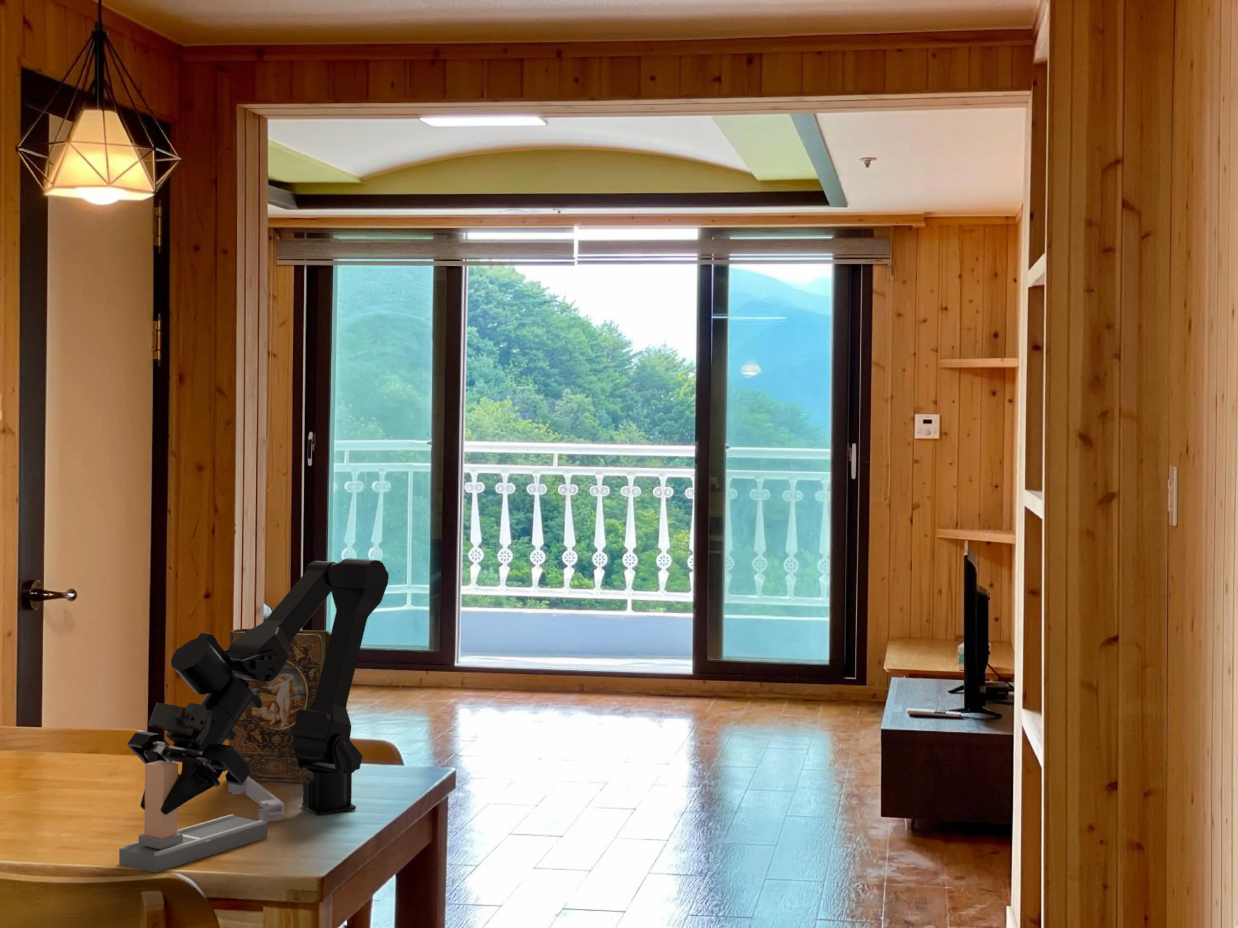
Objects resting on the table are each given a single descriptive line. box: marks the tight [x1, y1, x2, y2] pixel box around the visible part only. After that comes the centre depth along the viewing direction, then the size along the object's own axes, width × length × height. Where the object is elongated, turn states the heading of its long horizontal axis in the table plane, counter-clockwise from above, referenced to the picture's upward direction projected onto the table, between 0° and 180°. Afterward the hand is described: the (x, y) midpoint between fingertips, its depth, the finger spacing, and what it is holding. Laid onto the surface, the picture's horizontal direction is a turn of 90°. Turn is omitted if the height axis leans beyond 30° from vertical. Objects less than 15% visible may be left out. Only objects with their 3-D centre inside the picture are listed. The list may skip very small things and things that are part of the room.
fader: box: [138, 760, 183, 849], centre depth 180 cm, size 4×4×11 cm
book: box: [228, 628, 331, 786], centre depth 227 cm, size 16×6×25 cm, turn 84°
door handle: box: [227, 776, 285, 823], centre depth 209 cm, size 21×3×3 cm, turn 31°
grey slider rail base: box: [118, 813, 269, 874], centre depth 186 cm, size 20×7×2 cm, turn 150°
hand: (152, 810), depth 179 cm, fingers closed on fader, 3 cm apart
